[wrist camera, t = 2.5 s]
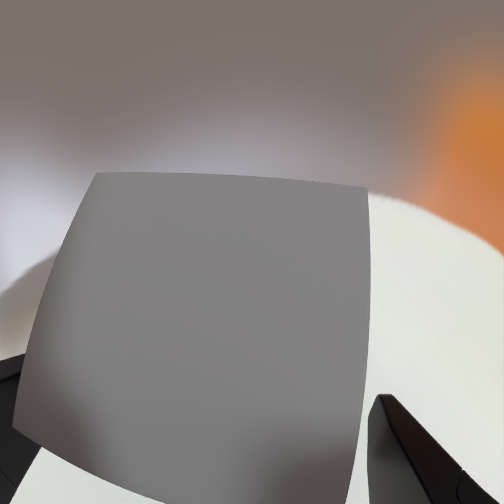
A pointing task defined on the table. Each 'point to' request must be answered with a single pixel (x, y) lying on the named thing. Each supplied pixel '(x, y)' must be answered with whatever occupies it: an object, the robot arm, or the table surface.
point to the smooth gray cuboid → (205, 338)
